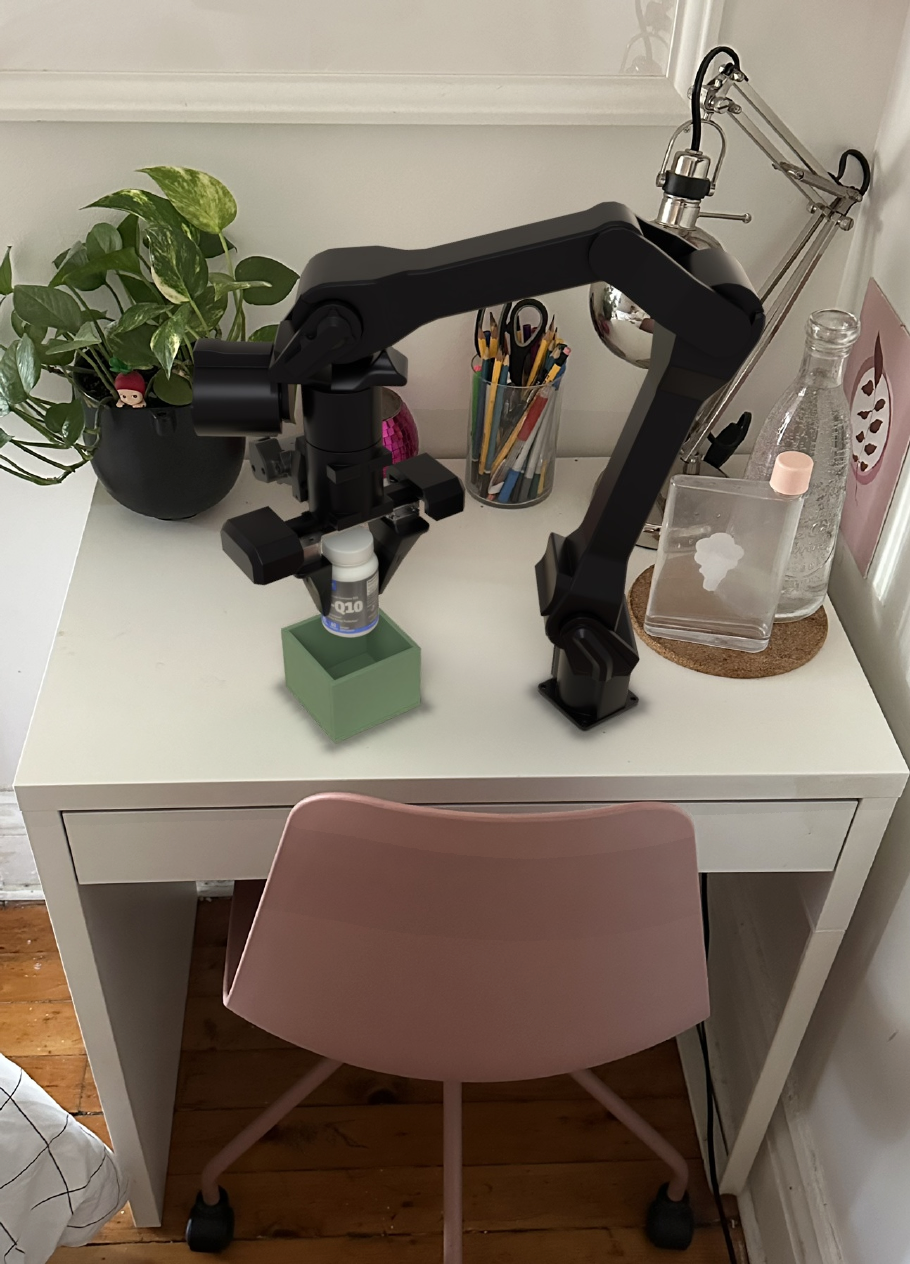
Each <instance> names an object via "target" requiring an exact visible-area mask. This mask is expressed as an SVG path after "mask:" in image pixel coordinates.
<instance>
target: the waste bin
mask: <svg viewBox="0 0 910 1264" xmlns="http://www.w3.org/2000/svg"><path fill="white" fill-rule="evenodd" d="M280 634H281V646H282V647H281V648H282V657H283V658H282V659H283V668H284V670H283V671H284V681H285V687H286V688H287V689H288V690H289V692H290V693H291V694H292V696H293V697H294V698H295V699H296V700H297V701H298V702H299V703H300V704H301V706H302V707H303V708H304V709H305V710H306V711H307V713H308V714H309V715H310V716H311V717H312V718H313V720H314V721H315V722H316V723H317V724H318V726H319V727H320V728H321V729H322V730H323V731H324V732H325V734H326V735H328V737H329V738H330V740H332V742H333V743H334V744H338V743H340V742H342V741H344V740H347V739H349V738H351V737H353V736H356V735H358V734H360V733H362V732H365V731H366V730H369V729H371V728H373V727H375V726H378V725H379V724H382V723H384V722H386V721H388V720H390V719H392V718H395V717H397V716H400V715H402V714H404V713H406V712H408V711H410V710H412V709H415V708H417V707H419V706H421V680H422V679H421V675H422V672H421V671H422V648H421V646H420V645H419V644H418V643H416V641H414V639H412V637H410V636H409V635H408V633H406V631H404V630H403V629H402V628H401V626H399V625H398V624H397V622H395V621H394V620H393V619H392V618H391V617H390V616H389V615H388V614H387V613H386V612H385V611H384V610H383V609H382V608H381V607H379V620H378V623H377V625H376V627H375V628H374V629H373V630H372V631H370V632H369V633H367V634H365V635H363V636H359V637H352V638H349V637H341V636H338V635H335V634H332V633H330V632H329V631H328V630H327V629H326V628H325V627H324V625H323V623H322V618H321V613H320V612H319V613H318V614H316V615H313V616H311V617H308V618H305V619H303V620H300V621H298V622H295V623H292V624H290V625H287V626H285V627H282V628H281V629H280Z"/></svg>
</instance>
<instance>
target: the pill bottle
mask: <svg viewBox="0 0 910 1264" xmlns="http://www.w3.org/2000/svg"><path fill="white" fill-rule="evenodd" d="M373 550H374V545H373V536H372V534H371V532H370V531H369V528H366V527H364V526H362V525H360V526H357V527H354V528H351V529H349V530H346V531H343V532H340V533H337V534H335V535H332V536H329V537H326V538H324V539H322V540H321V553H322V554H323V555H324V556H325V557H326V558H327V559H328V560H329V561H330V562H331V563H332V565H333V567H332V591H331V607H330V611H329V615H327V616H325V617H324V616H323V615H322V614H321V618H322V623H323V625H324V627H325V628H326V629H327V630H328V631H329V632H330V633H332V634H335V635H338V636H341V637H349V638H352V637H359V636H363V635H365V634H367V633H369V632H370V631H372V630H373V629H374V628H375V627H376V625H377V623H378V620H379V608H380V603H379V602H380V601H379V596H380V595H379V589H378V587H379V586H378V559H377V556H376V554H375V553H374V552H373Z"/></svg>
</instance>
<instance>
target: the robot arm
mask: <svg viewBox="0 0 910 1264" xmlns="http://www.w3.org/2000/svg"><path fill="white" fill-rule="evenodd" d="M601 282H602V283H603V282H604V283H606V284H608V286H610V287H612V288H613V289H616V290H617V291H618V292H620V293H622V294H623V295H624V296H625V297H626V298H627V299H629V301H631V302H632V303H633V304H635V305H636V306H637V307H638V308H640V310H641V311H643V312H644V313H645V314H646V315H648V316H649V317H650V318H651V319H652V320H654V321H653V329H652V338H651V347H650V355H649V363H648V369H647V372H646V374H645V377H644V379H643V381H642V384H641V386H640V388H639V391H638V393H637V395H636V398H635V400H634V402H633V404H632V407H631V409H630V412H629V414H628V416H627V418H626V420H625V423H624V425H623V427H622V430H621V432H620V434H619V436H618V439H617V442H616V444H615V446H614V448H613V450H612V453H611V455H610V457H609V460H608V462H607V464H606V467H605V469H604V471H603V474H602V475H601V478H600V481H599V482H598V485H597V487H596V490H595V492H594V494H593V496H592V499H591V501H590V504H589V506H588V508H587V510H586V513H585V515H584V517H583V519H582V521H581V523H580V525H579V526H578V527H577V528H576V529H575V530H574V531H572V532H570V534H568V535H567V536H563V535H561V534H560V533H559V534H558V533H556V532H553V531H551V532H550V533H549V536H548V538H547V543H546V548H545V551H544V553H543V555H542V557H541V558H540V560H538V562H537V563H536V564H535V565H534V574H535V582H536V583H535V584H536V589H537V590H536V591H537V598H538V606H539V607H538V608H539V612H540V613H539V615H540V616H541V617H543V625H544V632H545V633H544V634H545V636H546V637H547V639H548V640H549V641H550V643H551V644H552V645H553V649H552V650H553V651H552V658H551V669H550V676H552V677H551V678H549V679H547V680H544V681H542V682H541V683H539V684H538V685H537V691H538V693H540V695H542V696H543V697H544V698H545V699H546V700H547V701H548V702H549V703H551V704H552V705H553V706H554V707H555V708H556V709H557V710H558V711H559V712H560V713H561V714H562V715H563V716H565V717H566V718H567V719H568V721H570V722H571V723H573V725H575V726H576V727H577V728H578V729H579V730H581V731H582V732H586V731H589V730H591V729H593V728H596V727H598V726H599V725H601V724H603V723H605V722H607V721H609V720H611V719H613V718H614V717H617V716H618V715H621V714H623V713H625V712H627V711H629V710H630V709H633V708H634V707H636V706H638V705H639V701H640V698H639V697H638V695H636V694H635V693H634V692H633V691H631V690H630V689H629V687H630V681H631V675H632V673H633V671H634V669H635V668H636V666H637V665H638V663H639V662H640V660H641V659H640V655H639V650H638V645H637V641H636V635H635V632H634V626H633V623H632V622H633V621H632V617H631V613H630V607H629V603H628V600H627V595H626V593H625V591H626V585H627V574H628V566H629V560H630V557H631V555H632V553H633V551H634V549H635V546H636V545H637V543H638V540H639V538H640V537H641V534H642V533H643V530H644V528H645V526H646V524H647V522H648V520H649V517H650V515H651V513H652V511H653V509H654V507H655V505H656V503H657V501H658V499H659V496H660V495H661V493H662V490H663V488H664V486H665V484H666V482H667V480H668V478H669V476H670V474H671V472H672V470H673V467H674V465H675V463H676V461H677V459H678V457H679V455H680V453H681V450H682V448H683V446H684V444H685V442H686V441H687V438H688V436H689V434H690V432H691V430H692V428H693V426H694V423H695V422H696V419H697V417H698V416H699V413H700V411H701V409H702V407H703V406H704V404H705V403H706V402H707V401H708V400H709V399H710V398H711V397H713V396H714V395H715V394H716V393H718V392H719V391H721V389H722V388H725V386H726V385H728V384H729V383H730V382H732V381H733V379H734V378H735V377H736V376H737V374H738V373H739V371H740V370H741V368H742V367H743V366H744V364H745V363H746V362H747V360H748V359H749V357H750V356H751V354H752V353H753V351H755V349H756V347H757V346H758V345H759V342H760V341H761V339H762V337H763V334H764V331H765V328H766V318H767V317H766V316H767V315H766V314H765V309H764V307H763V303H762V301H761V299H760V297H759V295H758V293H757V291H756V290H755V288H754V286H753V284H752V282H751V280H750V279H749V277H748V275H747V273H746V271H745V269H744V267H743V265H742V263H740V262H739V261H738V259H737V258H736V257H735V256H734V255H733V254H731V253H729V252H727V251H725V250H723V249H719V248H712V247H711V248H710V247H708V248H702V249H700V248H698V247H697V246H696V245H694V244H692V243H691V242H690V241H688V240H687V239H685V238H684V237H682V236H681V235H679V234H677V233H676V232H674V231H672V230H670V229H667V228H665V227H663V226H661V225H658V224H656V223H654V222H652V221H649V220H647V219H645V218H643V217H641V216H640V215H639V214H637V213H636V212H634V211H633V210H632V209H631V208H629V207H628V206H627V205H626V204H624V203H621V202H617V201H616V200H615V201H603V202H600V203H597V204H595V205H593V206H592V207H590V208H588V209H585V210H581V211H576V212H573V213H569V214H564V215H560V216H556V217H555V216H554V217H552V218H548V219H544V220H539V221H536V222H530V223H527V224H523V225H518V226H515V227H510V228H505V229H501V230H497V231H494V232H489V233H485V234H481V235H477V236H473V237H470V238H464V239H459V240H456V241H452V242H448V243H444V244H440V245H435V246H431V247H427V248H417V249H416V248H415V249H403V248H397V247H390V246H384V245H362V246H347V247H344V246H343V247H334V248H333V247H332V248H327V249H326V250H323V251H321V252H318V253H316V254H315V255H313V256H311V258H310V259H309V260H308V262H307V263H306V265H304V269H303V270H302V272H301V273H300V277H299V281H298V286H297V290H296V294H295V299H294V304H293V305H292V306H291V308H290V309H289V310H288V312H287V313H286V315H285V316H284V317H283V318H282V320H280V321H279V324H278V326H277V329H276V334H275V338H274V341H241V340H240V341H238V340H223V339H220V338H213V337H198V338H197V340H195V344H194V347H193V350H192V352H191V354H192V360H193V370H192V371H193V372H192V399H191V402H190V415H191V421H192V426H193V429H194V432H195V435H197V436H198V437H244V438H245V437H247V438H248V437H251V438H252V437H253V438H254V437H255V438H257V439H254V440H251V441H248V460H249V464H250V468H251V473H252V475H253V477H254V479H255V480H257V481H259V482H261V483H265V484H270V483H274V482H276V484H277V485H283V484H284V485H287V486H291V493H292V497H293V498H294V499H295V500H296V501H297V502H298V503H300V504H301V503H305V502H306V503H307V504H308V510H305V511H302V512H300V515H298V516H295V517H293V518H289V519H287V520H284V519H282V517H280V516H279V515H278V514H277V513H276V512H275V511H274V509H272V507H270V506H269V505H265V506H263V507H260V508H258V509H255V510H251V511H249V512H246V513H242V514H240V515H237V516H234V517H231V518H227V520H225V522H224V523H223V524H222V527H221V529H220V541H221V548H222V549H221V550H222V551H223V552H224V553H225V554H226V556H227V557H228V558H229V559H230V560H231V561H232V562H233V563H234V564H235V565H236V567H237V568H238V569H239V570H240V571H241V572H242V573H243V574H244V575H245V576H246V577H247V578H248V579H249V581H251V583H252V584H253V585H256V586H257V585H258V586H267V585H270V584H272V583H275V582H278V581H280V580H284V579H286V578H288V577H291V576H293V577H294V578H295V579H298V580H302V583H303V584H304V586H305V587H306V589H307V592H308V594H309V596H310V598H311V599H312V601H313V604H314V606H315V607H316V609H317V611H318V612H319V614H320V613H321V614H322V615H323V616H324V617H325V616H327V615H329V611H330V607H331V591H332V567H333V565H332V563H331V562H330V561H329V560H328V559H327V558H326V557H325V556H324V555H323V554H322V553H323V552H322V539H324V538H326V537H329V536H332V535H335V534H337V533H340V532H343V531H346V530H349V529H351V528H354V527H357V526H362V525H365V524H367V527H368V530H369V531H370V532H371V534H372V536H373V545H374V550H373V552H374V553H375V554H376V556H377V559H378V586H379V587H378V589H379V596H381V595H382V594H383V593H384V592H385V589H387V587H388V585H389V583H390V582H391V580H392V578H393V577H394V575H395V574H396V572H397V570H398V569H399V567H400V565H401V564H402V562H403V561H404V559H405V558H406V557H407V555H408V554H409V552H410V551H411V550H412V548H413V547H414V546H415V544H416V542H417V541H418V540H419V539H420V538H421V536H422V535H425V534H427V533H428V532H429V531H430V522H429V521H428V520H426V519H425V518H423V517H422V516H421V509H420V504H421V503H420V501H422V502H423V503H424V504H423V505H424V507H423V508H424V509H423V513H424V514H425V515H426V516H428V517H429V518H431V519H432V520H433V521H435V522H440V521H441V520H444V519H448V518H450V517H452V516H453V517H454V516H455V515H457V514H461V513H463V512H464V511H465V507H466V486H465V484H464V482H463V479H462V478H461V477H459V476H458V475H456V474H455V473H454V472H452V471H451V470H450V469H449V468H448V467H446V466H445V465H444V464H443V463H441V462H440V461H438V460H437V459H436V458H434V457H433V456H432V455H430V454H429V453H427V452H424V453H420V454H418V455H415V456H412V457H409V458H405V459H404V460H399V461H397V462H394V453H393V452H392V451H391V450H390V449H389V448H387V446H385V445H384V424H383V423H384V421H383V420H384V419H383V387H390V388H391V387H396V388H397V387H398V388H402V387H406V385H407V384H408V379H409V358H408V357H407V356H406V355H405V354H403V353H402V352H401V351H399V350H398V349H396V348H394V347H393V346H395V345H397V344H398V343H399V342H401V341H402V340H403V339H404V338H406V337H408V336H409V335H411V334H412V333H414V332H415V331H417V330H418V329H420V328H421V327H423V326H426V325H427V324H431V323H433V322H435V321H438V320H441V319H445V318H450V317H454V316H459V315H462V314H467V313H472V312H475V311H480V310H485V309H488V308H493V307H497V306H502V305H506V304H511V303H514V302H519V301H523V300H528V299H533V298H536V297H541V296H544V295H549V294H553V293H558V292H561V291H566V290H571V289H575V288H580V287H584V286H587V285H592V284H597V283H601ZM295 385H298V386H299V385H300V395H301V397H300V399H301V411H302V425H303V427H302V428H303V432H301V433H298V434H295V435H291V436H288V437H285V438H282V439H278V438H277V437H278V436H279V435H283V430H284V429H283V425H284V423H285V424H293V422H294V417H295V397H296V396H295ZM384 469H385V470H384ZM384 472H385V477H384Z"/></svg>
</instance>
